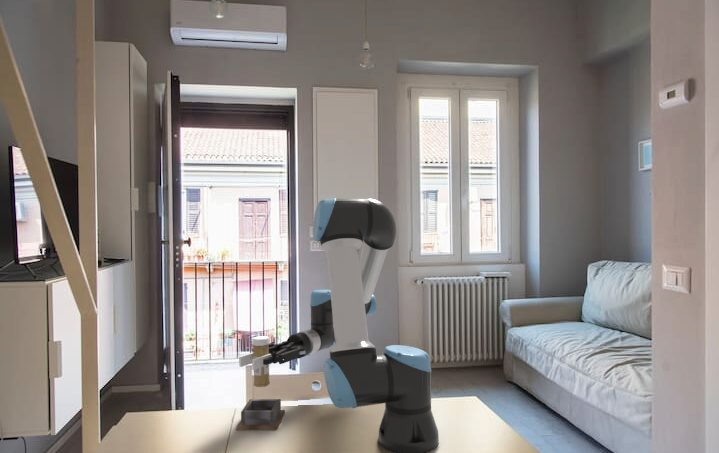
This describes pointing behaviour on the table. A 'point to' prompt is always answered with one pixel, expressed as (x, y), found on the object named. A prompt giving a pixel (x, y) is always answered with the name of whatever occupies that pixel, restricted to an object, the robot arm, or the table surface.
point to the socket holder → (261, 415)
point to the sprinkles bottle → (260, 350)
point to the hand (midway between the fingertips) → (246, 363)
